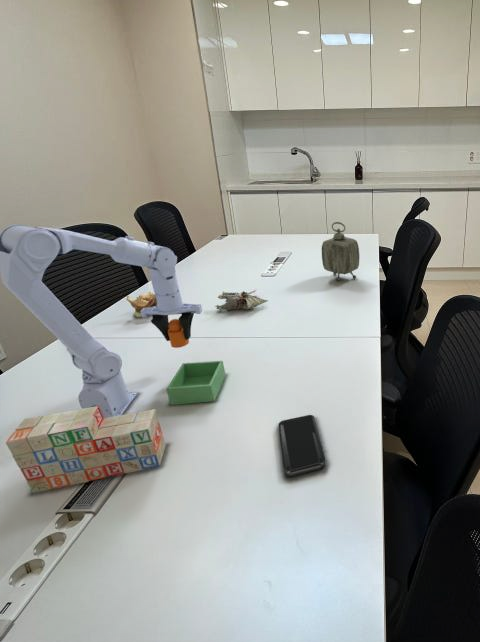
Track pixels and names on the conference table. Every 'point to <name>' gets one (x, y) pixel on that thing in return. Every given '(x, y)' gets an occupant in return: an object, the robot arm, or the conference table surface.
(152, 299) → the yellow brown ornament
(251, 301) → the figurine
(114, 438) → the stack of blocks
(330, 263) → the tabletop clock
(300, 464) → the phone
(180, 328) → the cylinder
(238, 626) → the conference table surface
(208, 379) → the green bin
